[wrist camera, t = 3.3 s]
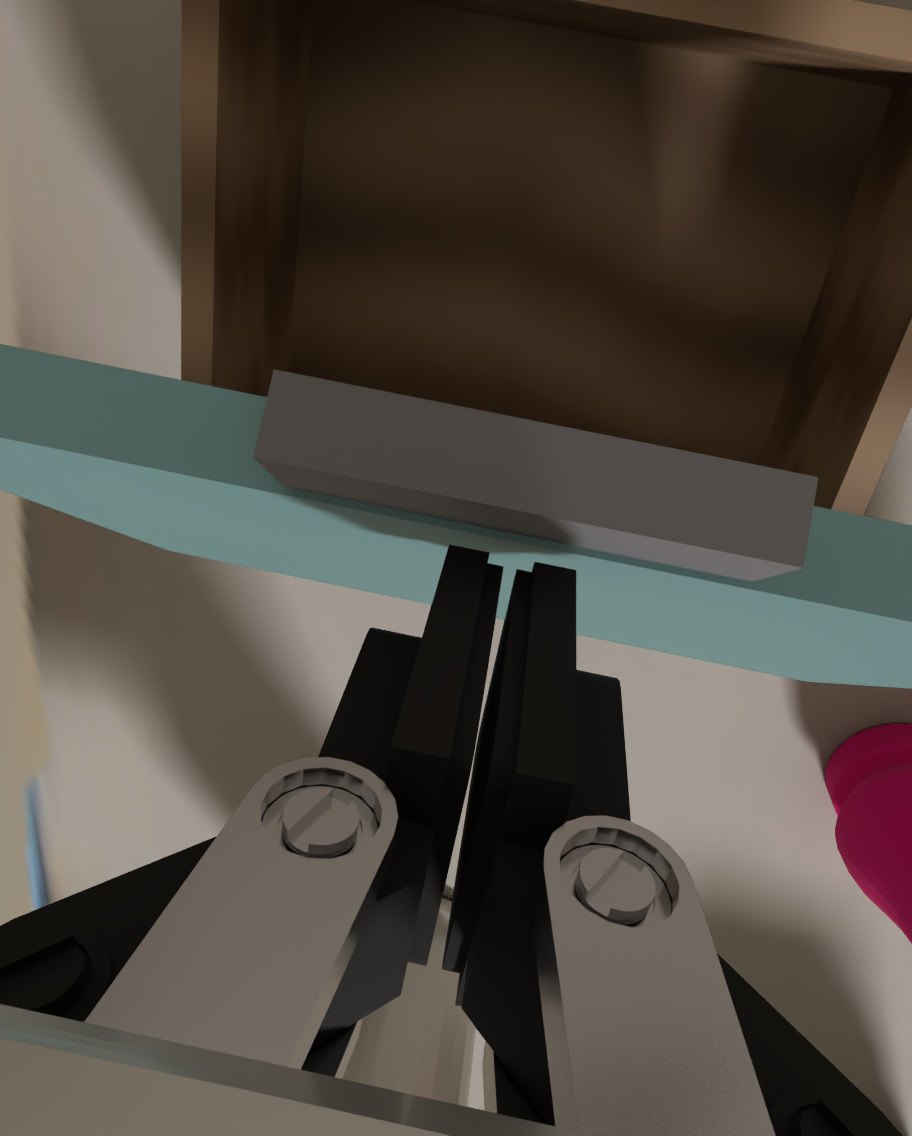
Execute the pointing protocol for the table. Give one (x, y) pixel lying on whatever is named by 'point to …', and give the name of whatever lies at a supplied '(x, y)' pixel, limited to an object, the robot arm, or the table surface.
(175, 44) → the table surface
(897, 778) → the pepper mill
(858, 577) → the lid
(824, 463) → the box
